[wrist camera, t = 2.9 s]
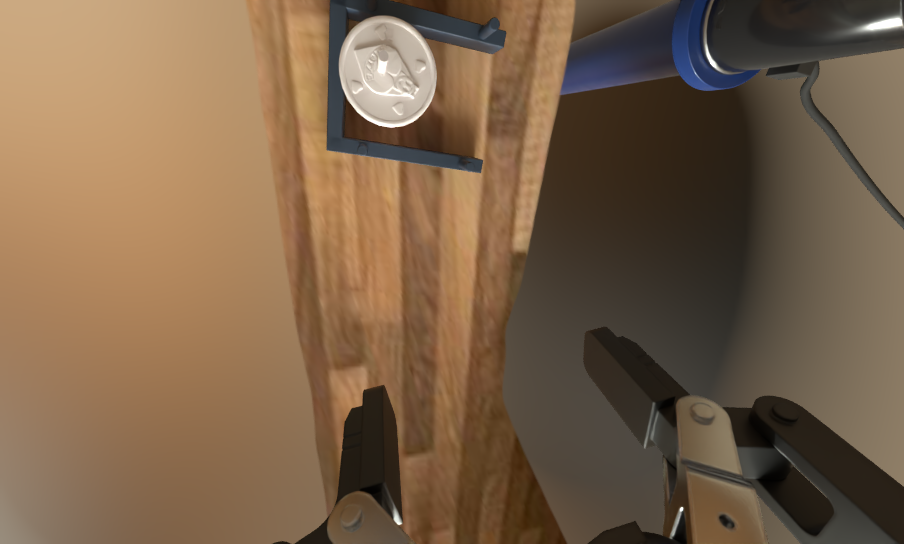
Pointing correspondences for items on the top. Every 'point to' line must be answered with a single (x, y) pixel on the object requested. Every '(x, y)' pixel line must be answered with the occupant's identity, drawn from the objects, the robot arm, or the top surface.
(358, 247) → the top surface
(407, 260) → the top surface
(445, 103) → the top surface
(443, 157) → the rack
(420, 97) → the smoothie
